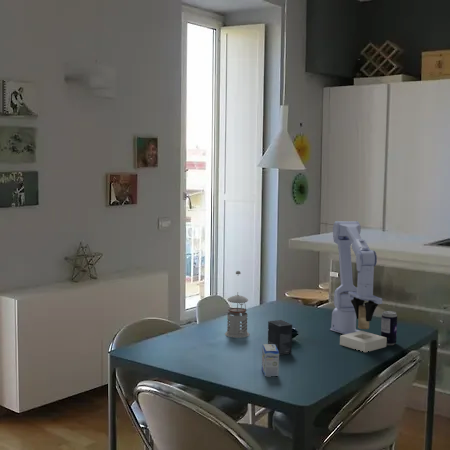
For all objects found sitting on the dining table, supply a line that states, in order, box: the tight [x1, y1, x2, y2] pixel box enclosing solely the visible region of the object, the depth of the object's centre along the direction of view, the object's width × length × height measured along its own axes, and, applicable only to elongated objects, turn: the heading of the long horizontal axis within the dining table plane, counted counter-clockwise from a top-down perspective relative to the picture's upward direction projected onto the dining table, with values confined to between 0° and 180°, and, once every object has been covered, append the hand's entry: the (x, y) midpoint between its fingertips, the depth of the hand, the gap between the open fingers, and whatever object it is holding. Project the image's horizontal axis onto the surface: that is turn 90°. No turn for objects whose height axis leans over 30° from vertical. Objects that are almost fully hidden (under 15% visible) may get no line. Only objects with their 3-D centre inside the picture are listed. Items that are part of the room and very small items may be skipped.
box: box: [267, 319, 293, 356], centre depth 250 cm, size 8×6×11 cm
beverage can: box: [380, 310, 398, 346], centre depth 262 cm, size 6×6×12 cm
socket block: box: [339, 330, 387, 353], centre depth 259 cm, size 12×12×4 cm
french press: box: [224, 270, 250, 339], centre depth 272 cm, size 10×12×25 cm
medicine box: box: [261, 343, 280, 378], centre depth 226 cm, size 8×4×9 cm, turn 5°
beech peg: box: [357, 305, 370, 330], centre depth 258 cm, size 4×4×8 cm
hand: (363, 319), depth 258 cm, fingers closed on beech peg, 4 cm apart
